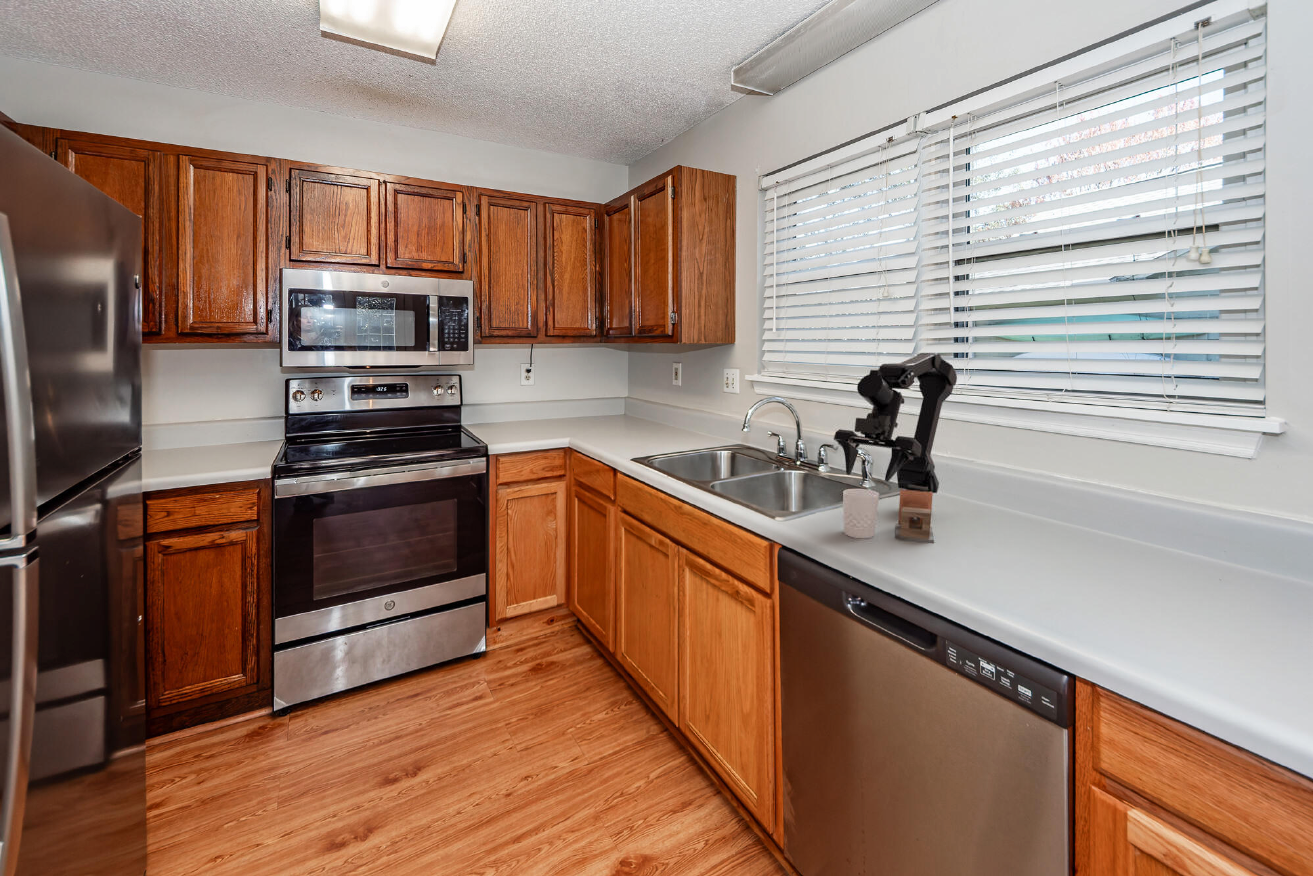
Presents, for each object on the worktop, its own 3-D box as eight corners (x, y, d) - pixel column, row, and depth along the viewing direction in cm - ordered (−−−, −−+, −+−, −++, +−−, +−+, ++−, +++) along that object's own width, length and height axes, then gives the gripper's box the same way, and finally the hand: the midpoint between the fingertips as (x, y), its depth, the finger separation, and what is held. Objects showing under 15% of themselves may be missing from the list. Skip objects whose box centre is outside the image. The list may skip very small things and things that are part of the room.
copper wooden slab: (898, 524, 140) (900, 489, 139) (930, 527, 137) (932, 491, 136) (898, 530, 136) (900, 494, 134) (931, 533, 133) (933, 497, 132)
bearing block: (895, 525, 142) (897, 499, 141) (931, 529, 139) (933, 502, 138) (895, 538, 133) (897, 510, 132) (934, 542, 130) (936, 514, 129)
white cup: (870, 541, 131) (873, 498, 129) (836, 535, 135) (838, 493, 134) (881, 532, 137) (883, 491, 135) (847, 526, 141) (849, 487, 140)
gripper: (832, 398, 136) (814, 460, 133) (912, 404, 122) (893, 473, 120) (852, 415, 143) (835, 475, 141) (929, 422, 130) (912, 488, 127)
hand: (866, 477), depth 132 cm, fingers open, 9 cm apart
